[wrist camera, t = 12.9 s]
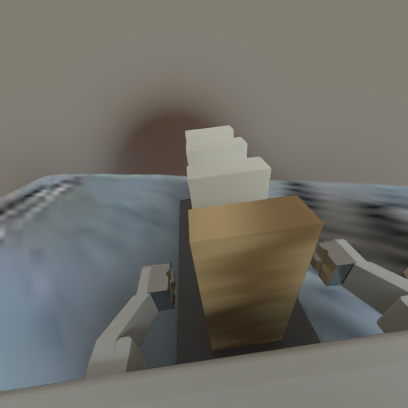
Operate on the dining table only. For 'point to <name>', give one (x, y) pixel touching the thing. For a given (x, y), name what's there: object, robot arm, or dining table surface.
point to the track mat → (195, 318)
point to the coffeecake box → (406, 273)
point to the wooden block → (251, 266)
